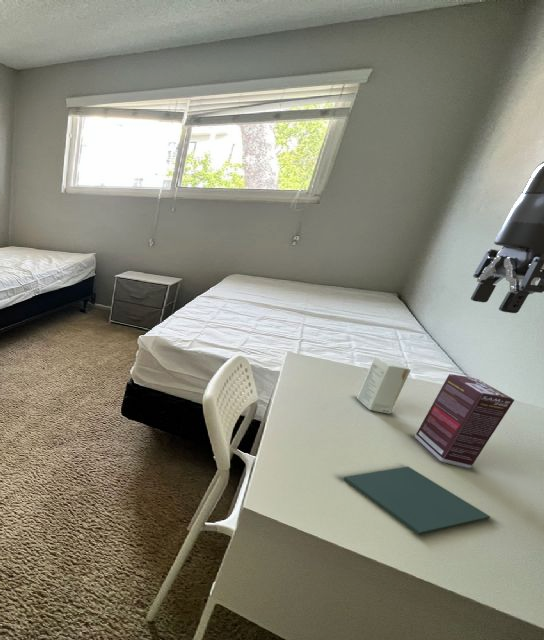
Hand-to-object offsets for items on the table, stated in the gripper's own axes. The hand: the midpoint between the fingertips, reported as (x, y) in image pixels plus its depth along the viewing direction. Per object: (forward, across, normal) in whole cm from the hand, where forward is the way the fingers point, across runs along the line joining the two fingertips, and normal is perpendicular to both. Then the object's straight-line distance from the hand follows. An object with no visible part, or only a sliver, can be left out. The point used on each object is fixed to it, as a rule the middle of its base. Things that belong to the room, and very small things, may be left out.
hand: (491, 306), depth 68 cm
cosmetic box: (+30, +8, +7) cm, 32 cm away
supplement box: (+30, -8, 0) cm, 31 cm away
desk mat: (+30, -28, +12) cm, 43 cm away
